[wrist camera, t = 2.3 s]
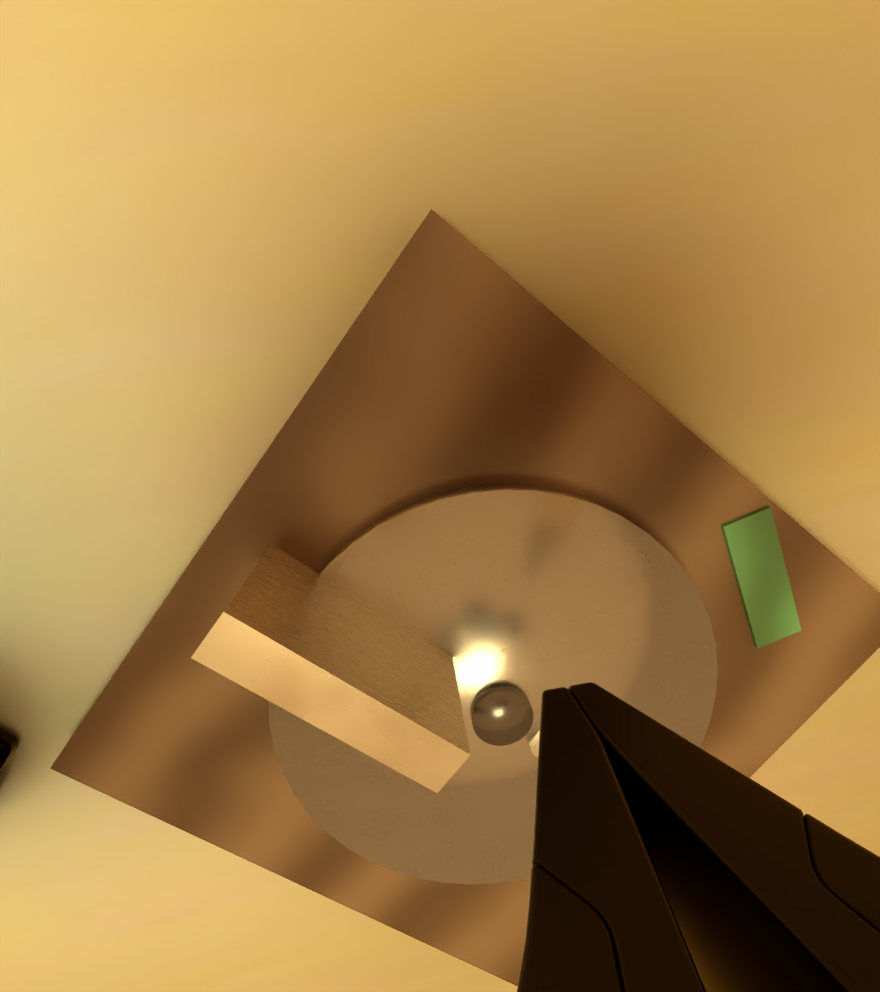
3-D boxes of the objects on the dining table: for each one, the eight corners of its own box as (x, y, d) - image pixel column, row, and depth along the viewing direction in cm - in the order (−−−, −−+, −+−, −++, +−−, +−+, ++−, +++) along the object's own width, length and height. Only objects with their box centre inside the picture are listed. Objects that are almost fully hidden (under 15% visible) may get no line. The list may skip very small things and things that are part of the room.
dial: (143, 724, 20) (40, 870, 14) (409, 349, 17) (414, 342, 12) (555, 933, 25) (603, 1106, 19) (816, 665, 22) (966, 772, 16)
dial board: (73, 741, 22) (46, 772, 20) (428, 221, 18) (431, 207, 16) (527, 960, 28) (535, 998, 26) (877, 602, 23) (913, 620, 22)
